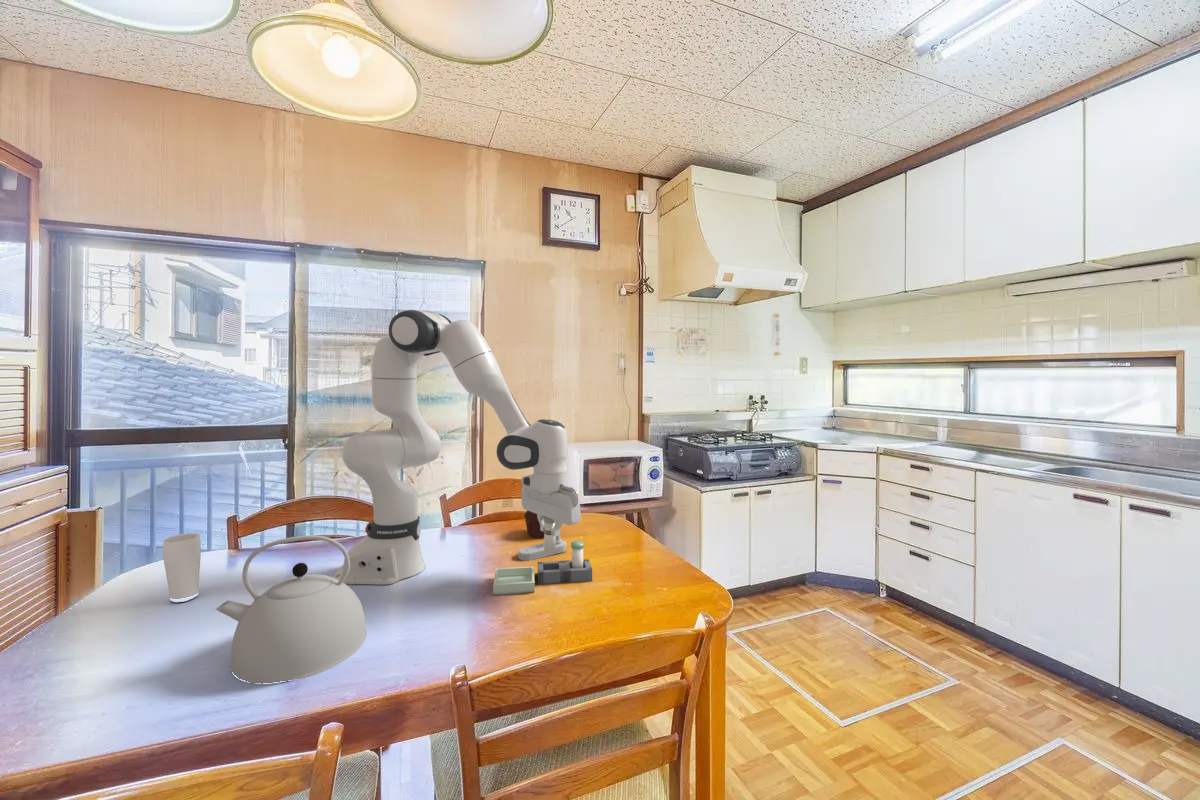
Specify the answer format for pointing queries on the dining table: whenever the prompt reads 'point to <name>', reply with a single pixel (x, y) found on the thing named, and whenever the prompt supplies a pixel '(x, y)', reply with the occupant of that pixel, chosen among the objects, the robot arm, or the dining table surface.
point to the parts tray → (514, 580)
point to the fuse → (577, 554)
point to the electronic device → (540, 550)
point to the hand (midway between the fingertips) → (549, 533)
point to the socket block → (563, 572)
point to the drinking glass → (182, 564)
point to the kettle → (295, 624)
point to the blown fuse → (549, 535)
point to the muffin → (533, 525)
